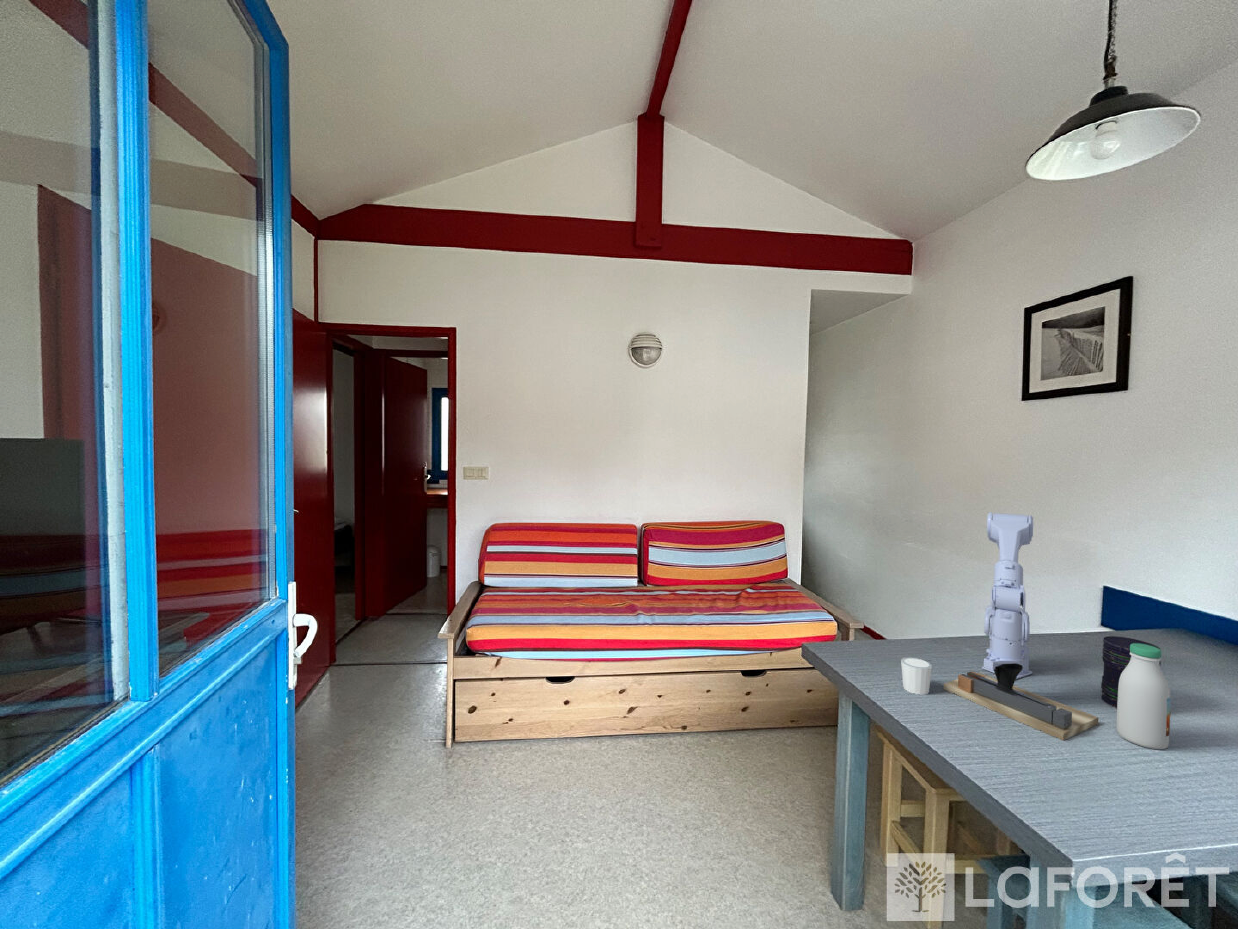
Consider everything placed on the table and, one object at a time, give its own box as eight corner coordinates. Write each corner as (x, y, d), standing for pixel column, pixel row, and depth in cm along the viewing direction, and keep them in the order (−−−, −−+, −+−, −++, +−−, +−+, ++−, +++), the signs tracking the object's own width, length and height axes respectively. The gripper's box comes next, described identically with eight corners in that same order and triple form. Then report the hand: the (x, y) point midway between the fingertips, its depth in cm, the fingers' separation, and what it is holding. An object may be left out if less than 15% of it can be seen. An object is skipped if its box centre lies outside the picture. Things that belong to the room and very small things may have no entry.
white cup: (936, 697, 125) (936, 669, 125) (905, 694, 127) (906, 667, 126) (925, 684, 132) (925, 658, 132) (896, 682, 133) (897, 656, 133)
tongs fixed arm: (967, 684, 129) (967, 672, 129) (1071, 726, 109) (1072, 712, 109) (957, 687, 127) (958, 675, 127) (1061, 730, 108) (1062, 716, 108)
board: (978, 678, 136) (978, 672, 136) (1098, 724, 113) (1098, 717, 113) (943, 689, 129) (943, 683, 129) (1063, 740, 107) (1063, 733, 107)
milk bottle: (1160, 755, 102) (1164, 657, 101) (1109, 735, 109) (1113, 643, 108) (1175, 744, 106) (1178, 650, 105) (1125, 726, 112) (1128, 637, 112)
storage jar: (1101, 691, 129) (1103, 633, 128) (1158, 705, 122) (1160, 643, 121) (1099, 705, 122) (1101, 643, 121) (1159, 720, 115) (1162, 655, 114)
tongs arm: (972, 682, 129) (972, 671, 129) (1059, 720, 112) (1059, 706, 112) (966, 684, 128) (966, 672, 128) (1053, 722, 111) (1053, 708, 111)
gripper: (1005, 626, 128) (1003, 679, 129) (970, 636, 122) (969, 691, 123) (1038, 636, 122) (1036, 691, 122) (1003, 646, 116) (1001, 704, 116)
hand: (1004, 692), depth 122 cm, fingers closed
